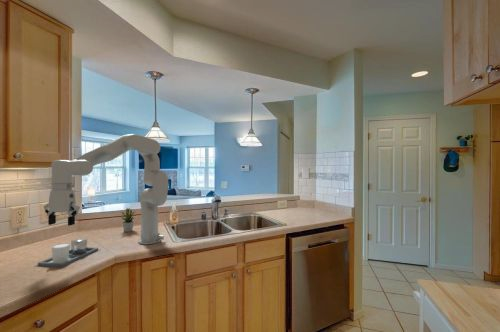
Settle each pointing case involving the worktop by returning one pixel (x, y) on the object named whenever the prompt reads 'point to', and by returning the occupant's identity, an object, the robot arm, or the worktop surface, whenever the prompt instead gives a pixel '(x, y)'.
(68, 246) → the white cylinder
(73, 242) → the block
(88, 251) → the divided tray
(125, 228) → the house plant
